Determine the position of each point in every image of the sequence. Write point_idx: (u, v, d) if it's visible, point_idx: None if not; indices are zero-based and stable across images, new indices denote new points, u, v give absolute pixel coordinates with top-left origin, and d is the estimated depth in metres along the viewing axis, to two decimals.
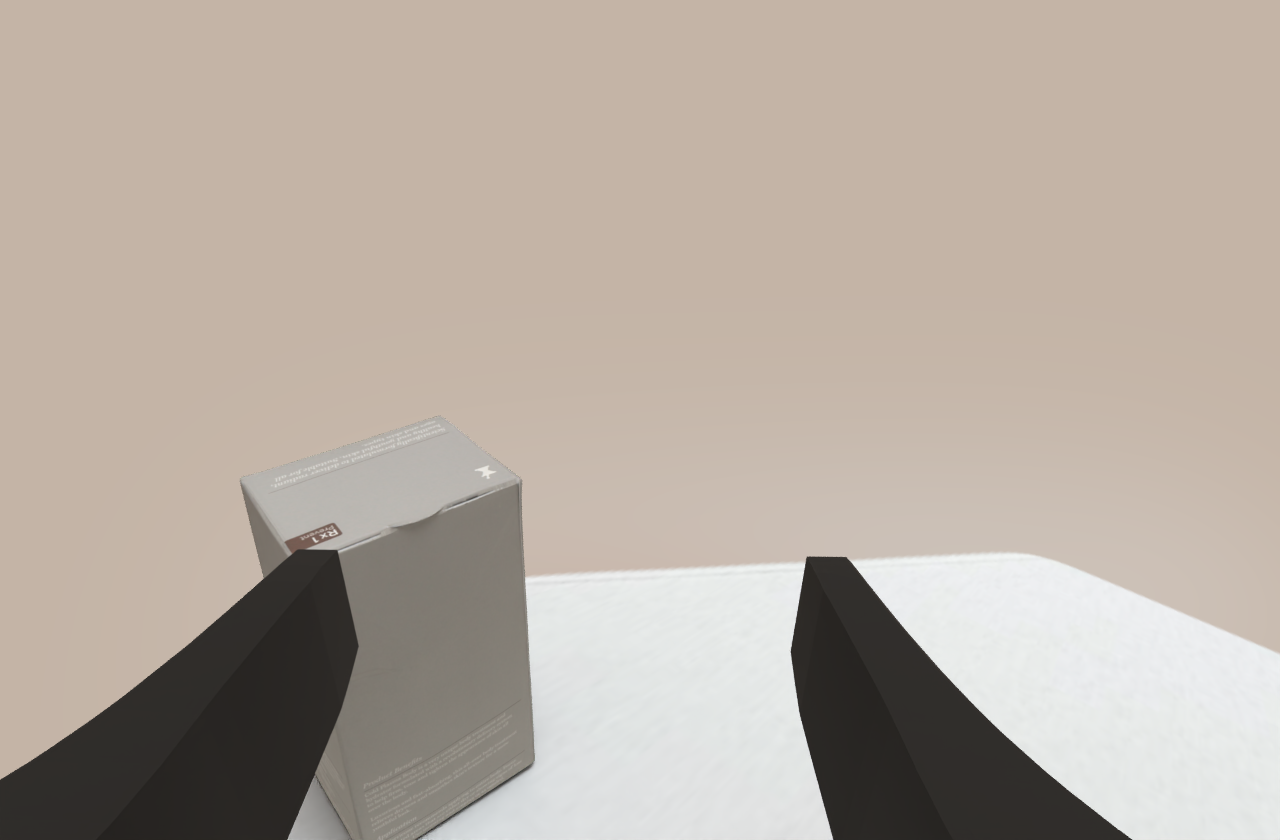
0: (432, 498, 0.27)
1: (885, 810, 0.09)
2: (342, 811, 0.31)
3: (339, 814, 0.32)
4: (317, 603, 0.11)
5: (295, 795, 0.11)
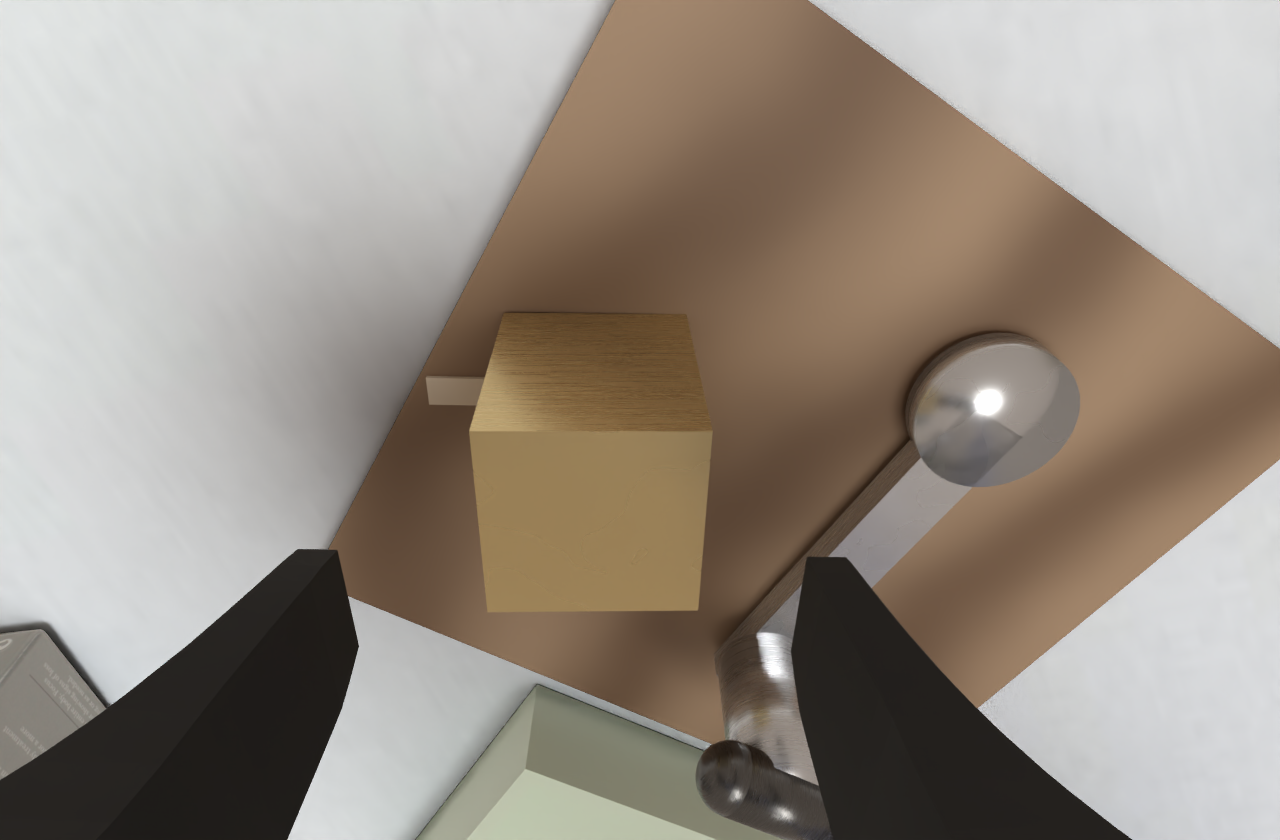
0: None
1: (885, 810, 0.09)
2: None
3: None
4: (317, 603, 0.11)
5: (295, 795, 0.11)
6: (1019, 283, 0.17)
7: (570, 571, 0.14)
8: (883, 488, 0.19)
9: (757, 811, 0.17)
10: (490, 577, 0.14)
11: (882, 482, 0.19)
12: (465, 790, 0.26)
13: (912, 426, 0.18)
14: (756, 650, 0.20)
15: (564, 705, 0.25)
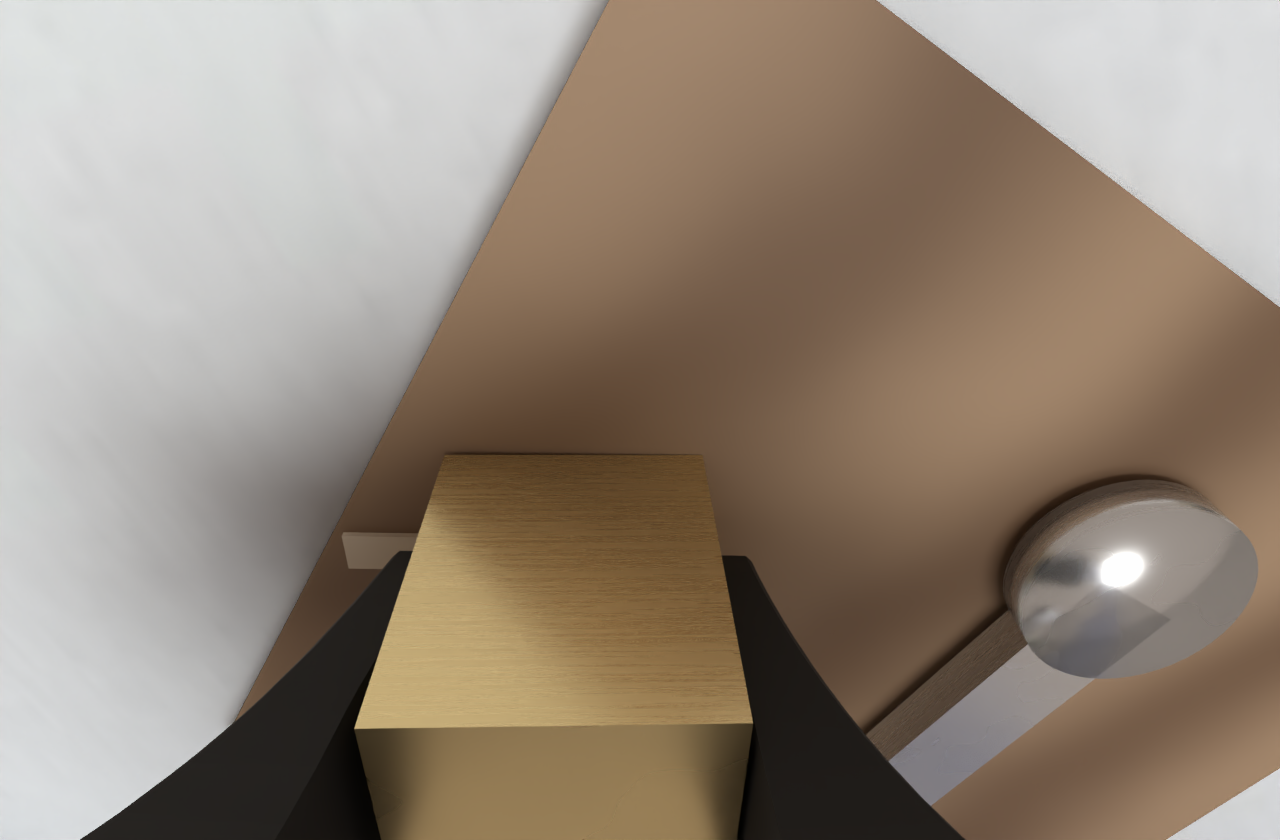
0: None
1: (749, 808, 0.09)
2: None
3: None
4: None
5: None
6: (1176, 414, 0.12)
7: None
8: (970, 676, 0.14)
9: None
10: None
11: (967, 665, 0.14)
12: None
13: (1017, 603, 0.13)
14: None
15: None
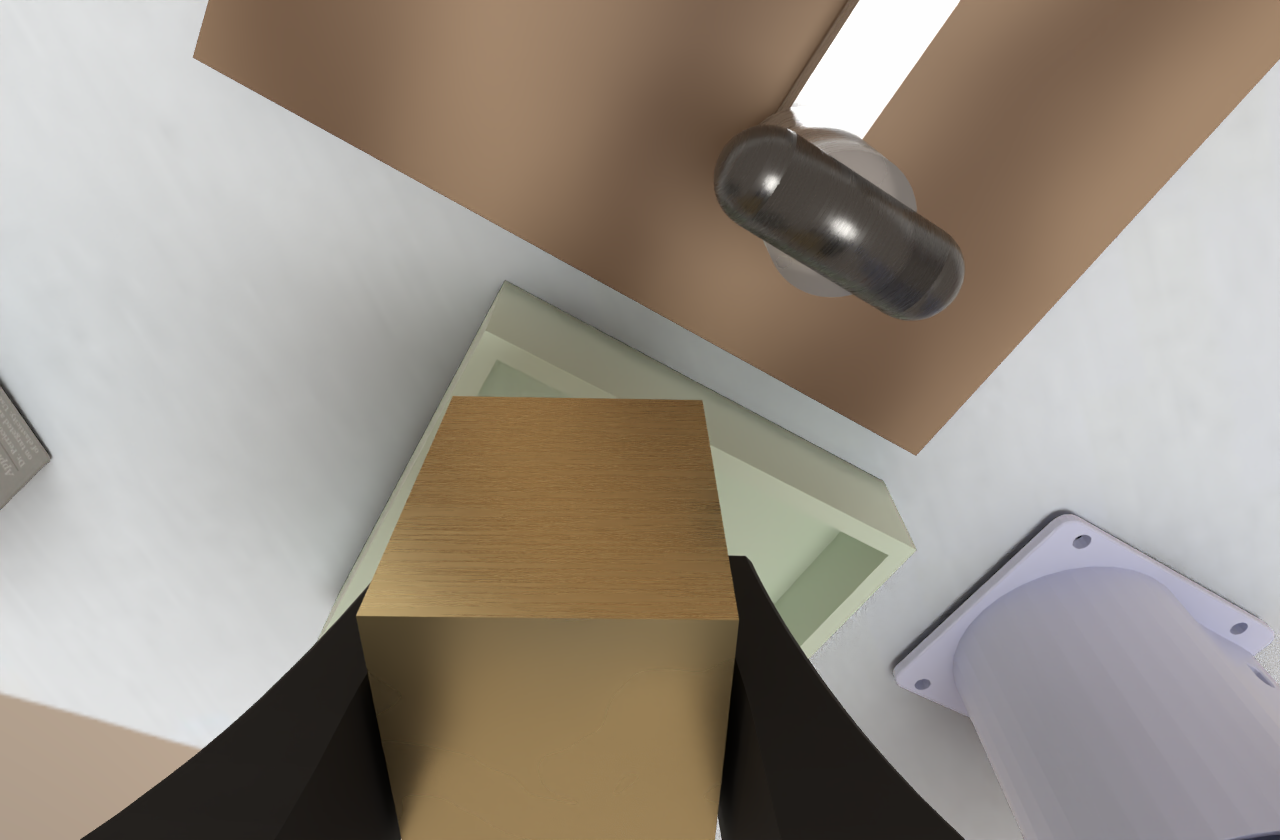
0: None
1: (748, 809, 0.09)
2: None
3: None
4: None
5: None
6: None
7: (523, 801, 0.10)
8: None
9: (805, 195, 0.12)
10: (404, 807, 0.10)
11: None
12: (419, 443, 0.21)
13: None
14: (792, 114, 0.15)
15: (539, 305, 0.19)
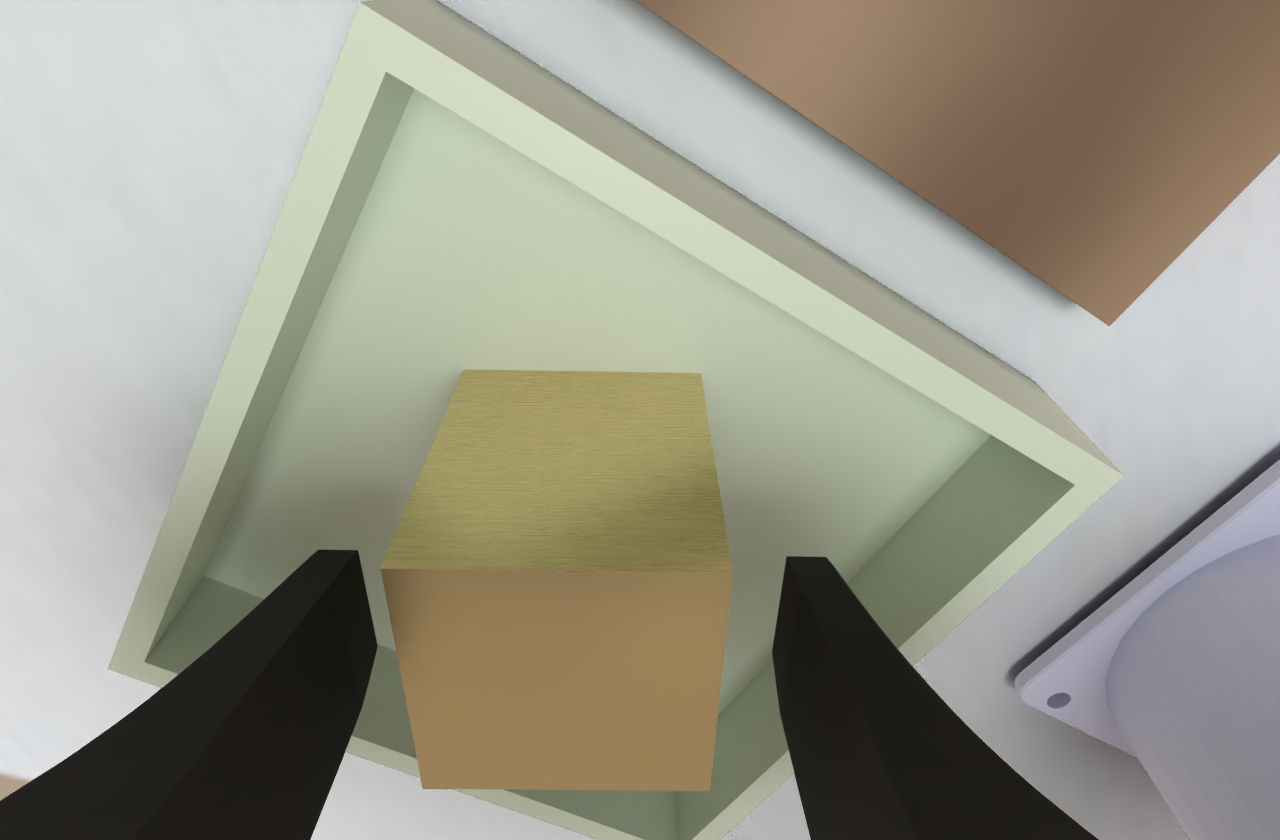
0: None
1: (858, 810, 0.09)
2: None
3: None
4: (339, 603, 0.11)
5: (318, 795, 0.11)
6: None
7: (533, 743, 0.10)
8: None
9: None
10: (424, 748, 0.10)
11: None
12: None
13: None
14: None
15: (483, 35, 0.11)
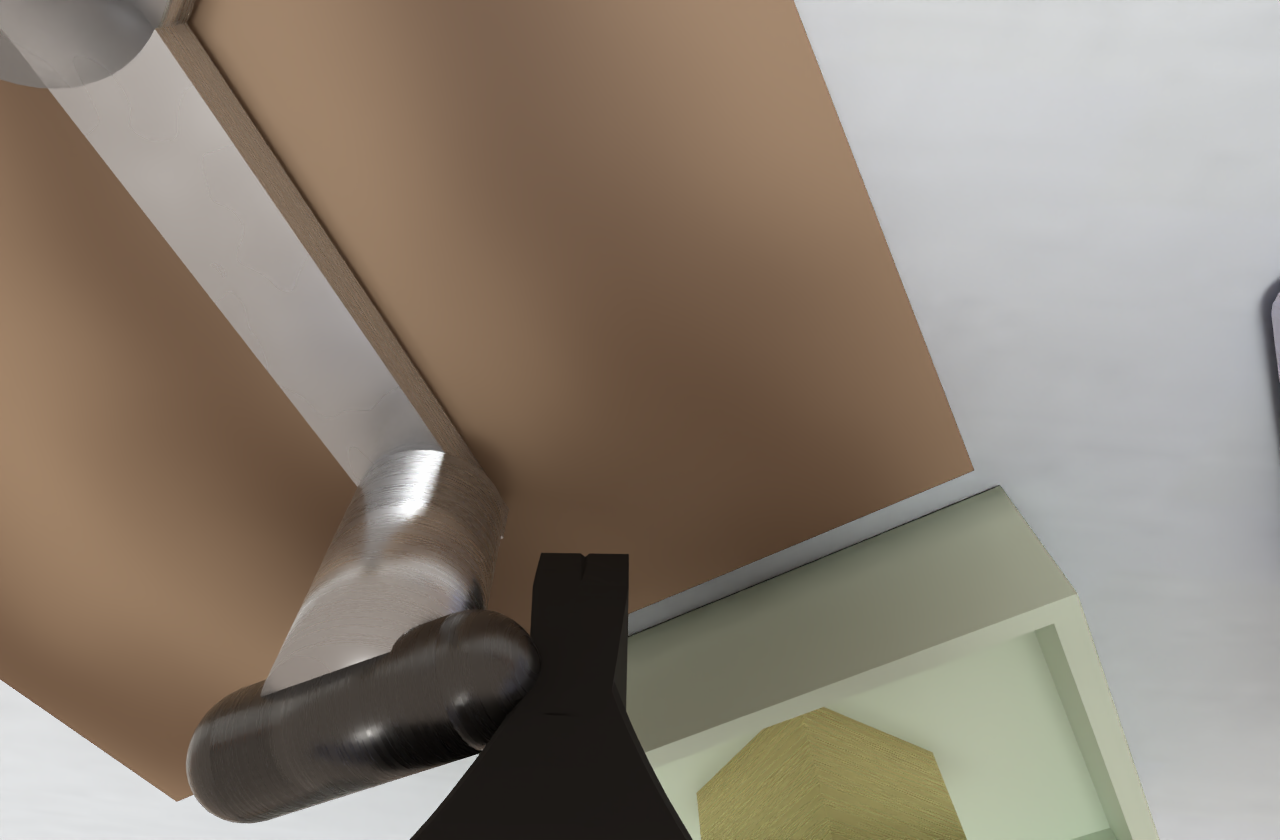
0: None
1: None
2: None
3: None
4: None
5: None
6: None
7: None
8: None
9: (256, 788, 0.09)
10: None
11: None
12: None
13: None
14: None
15: None
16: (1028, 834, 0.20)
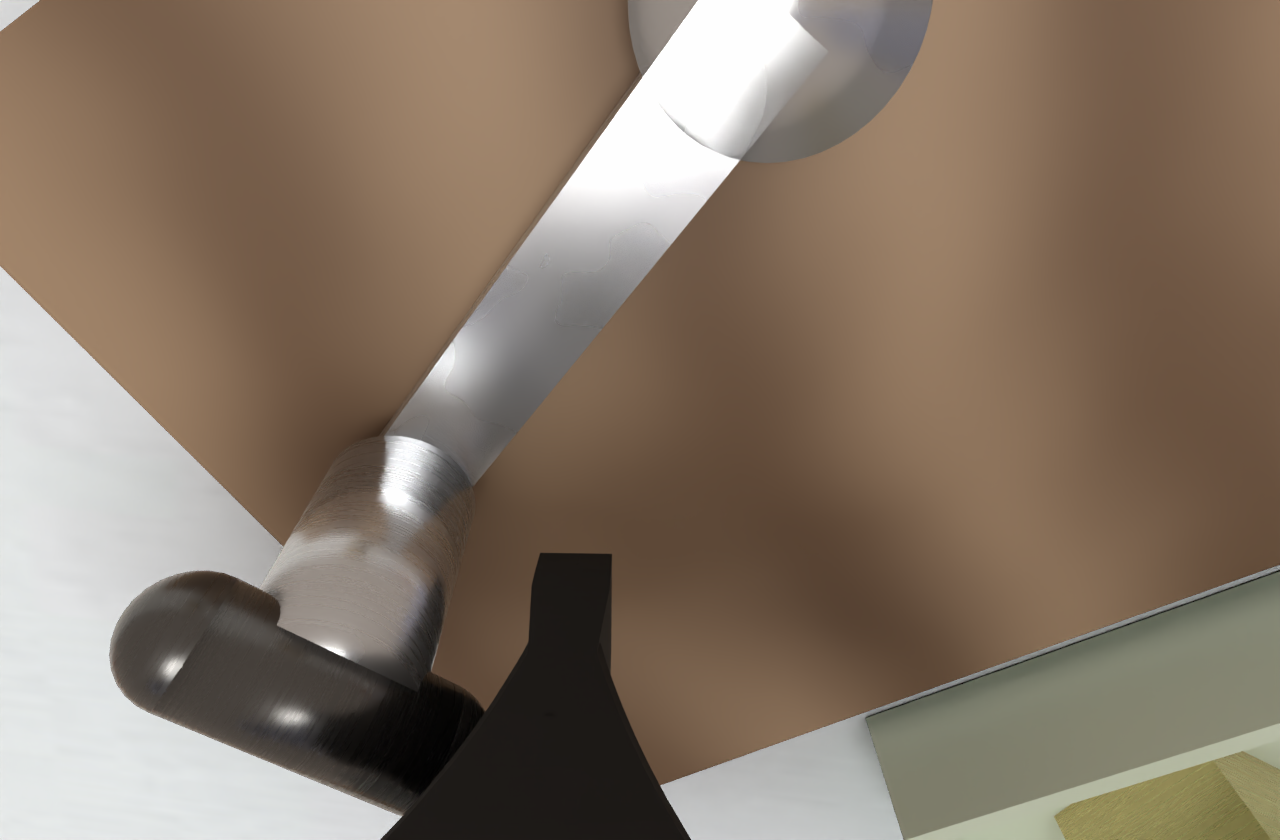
0: None
1: None
2: None
3: None
4: (609, 607, 0.11)
5: None
6: None
7: None
8: (584, 154, 0.10)
9: (210, 704, 0.08)
10: None
11: (587, 148, 0.10)
12: None
13: (628, 10, 0.09)
14: (368, 457, 0.12)
15: (911, 717, 0.18)
16: None
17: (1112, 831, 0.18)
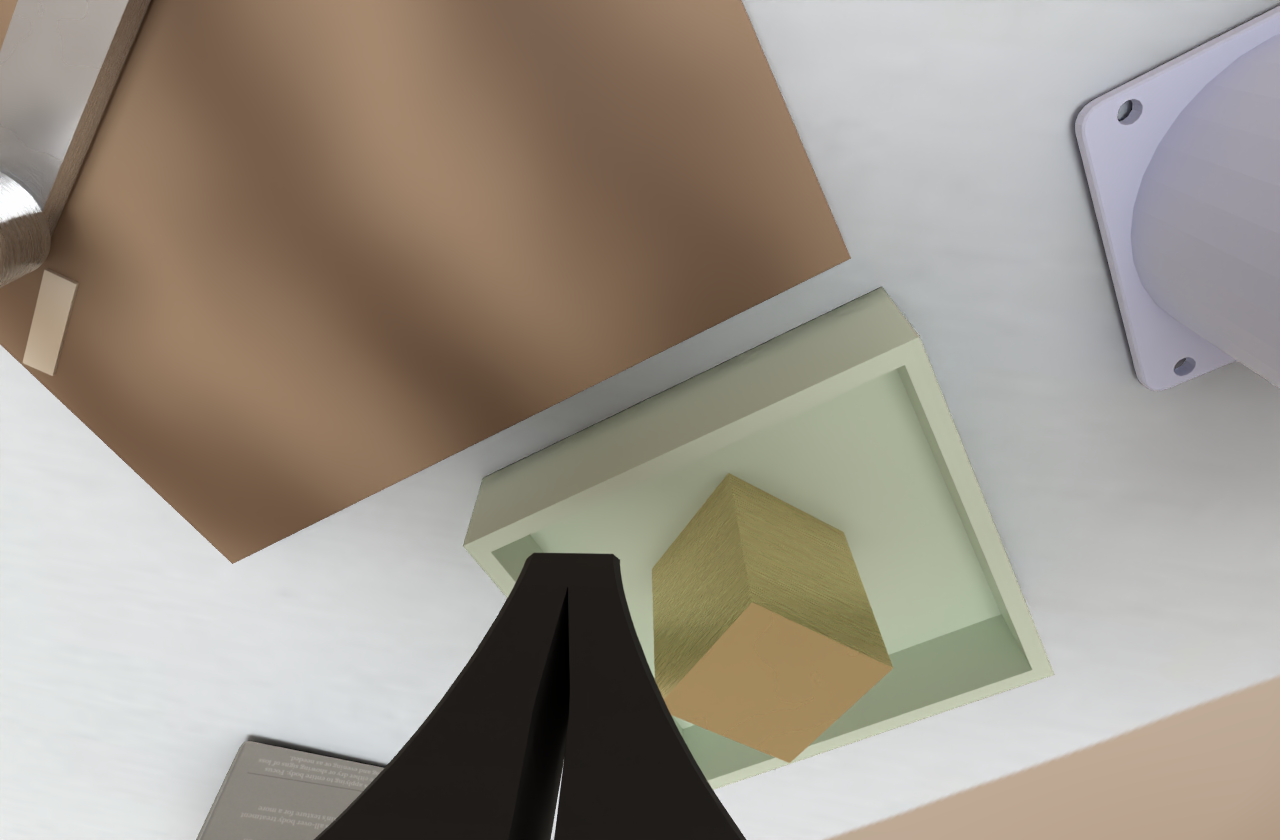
0: None
1: None
2: None
3: None
4: None
5: (554, 798, 0.11)
6: None
7: (796, 713, 0.19)
8: None
9: None
10: (764, 749, 0.20)
11: None
12: None
13: None
14: None
15: (510, 472, 0.22)
16: (932, 619, 0.24)
17: (674, 566, 0.22)
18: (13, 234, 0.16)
